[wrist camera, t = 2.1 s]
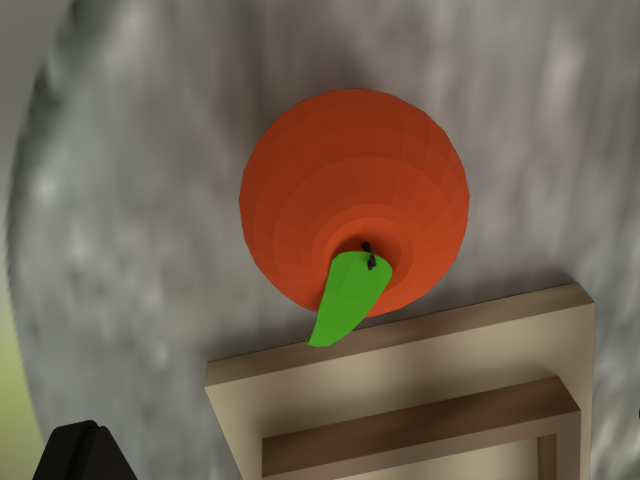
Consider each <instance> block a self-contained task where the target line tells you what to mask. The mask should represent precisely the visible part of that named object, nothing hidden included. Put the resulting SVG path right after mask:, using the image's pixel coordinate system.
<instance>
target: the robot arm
mask: <svg viewBox="0 0 640 480" xmlns="http://www.w3.org/2000/svg"><path fill="white" fill-rule="evenodd" d="M639 418H640V410H639ZM32 480H138V479H137V478H136V476H135V474H134V472H133V471H132V469H131V467H130V466H129V464H128V462H127V460H126V459H125V457H124V455H123V454H122V452H121V450H120V448H119V447H118V445H117V443H116V442H115V440H114V438H113V436H112V435H111V433H110V431H109V430H108V428H107V427H105V426H100V427H99V426H98V425H97V424H96V422H94V421H93V420H87V421H83V422H78V423H74V424H69V425H65V426H60V427H57V428H56V429H54V430H53V432H52V434H51V435H50V438H49V440H48V443H47V445H46V447H45V450H44V452H43V455H42V457H41V460H40V462H39V464H38V467H37V469H36V472H35V474H34V477H33V479H32Z"/></svg>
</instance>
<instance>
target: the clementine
mask: <svg viewBox="0 0 640 480" xmlns="http://www.w3.org/2000/svg"><path fill="white" fill-rule="evenodd" d="M469 197H470V195H469V191H468V186H467V181H466V176H465V171H464V168H463V165H462V163H461V161H460V158H459V156H458V154H457V153H456V151H455V149H454V147H453V145H452V143H451V142H450V140H449V138H448V136H447V134H446V132H445V131H444V130H443V129H442V128H441V127H439V126H438V125H437V124H436V123H435V122H434V121H433V120H432V119H431V118H430V117H429V116H428V115H427V114H426V113H425V112H424V111H422V110H420V109H418V108H416V107H414V106H412V105H410V104H408V103H406V102H404V101H403V100H401V99H399V98H397V97H395V96H393V95H391V94H387V93H382V92H377V91H372V90H367V89H362V88H359V89H344V90H331V91H328V92H325V93H322V94H320V95H317V96H314V97H311V98H308V99H305V100H303V101H301V102H300V103H298V104H297V105H295V106H294V107H292V108H291V109H289V110H288V111H286V112H285V113H283V114H282V115H280V116H279V117H278V118H277V119H276V120H275V121H274V123H273V124H272V125H271V126H270V127H269V128H268V130H267V131H266V132H265V133H264V134H263V135H262V136H261V138H260V139H259V141H258V143H257V145H256V147H255V149H254V151H253V153H252V155H251V157H250V159H249V161H248V163H247V166H246V168H245V170H244V172H243V177H242V184H241V190H240V196H239V205H240V213H241V221H242V228H243V233H244V238H245V241H246V244H247V246H248V248H249V250H250V253H251V255H252V257H253V260H254V262H255V264H256V265H257V266H258V268H259V269H260V270H261V271H262V272H263V273H264V275H265V276H266V277H267V278H268V279H269V281H270V282H271V283H272V284H273V285H274V286H275V287H276V288H277V289H278V290H279V291H280V292H281V293H282V294H284V295H285V296H287V297H288V298H290V299H291V300H292V301H294V302H295V303H297V304H298V305H300V306H301V307H304V308H307V309H309V310H312V311H314V312H317V313H318V315H317V320H316V324H315V326H314V329H313V332H312V335H311V337H310V340H309V339H308V338H307V337H305V340H306V345H310V346H314V347H324V346H330V345H331V344H333V343H335V342H337V341H338V340H340V339H341V338H343V337H344V336H345V335H347V334H348V333H350V332H351V331H352V330H353V329H354V328H355V327H356V326H357V325H358V324H359V323H360V322H361V321H362V320H363V319H364V318H365V317H373V316H378V315H381V314H384V313H387V312H391V311H394V310H397V309H400V308H402V307H404V306H405V305H407V304H409V303H411V302H413V301H414V300H416V299H418V298H420V297H422V296H423V295H424V294H425V293H426V292H427V291H429V290H430V289H431V288H432V287H433V286H434V285H435V284H436V283H438V282H439V281H440V280H441V279H442V277H443V276H444V275H445V273H446V272H447V270H448V269H449V267H450V266H451V265H452V263H453V262H454V260H455V259H456V256H457V254H458V251H459V248H460V246H461V243H462V240H463V238H464V235H465V231H466V226H467V220H468V208H469Z"/></svg>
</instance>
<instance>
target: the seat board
mask: <svg viewBox="0 0 640 480" xmlns="http://www.w3.org/2000/svg"><path fill="white" fill-rule="evenodd" d="M595 310H596V302H595V301H594V300H593V299H592V298H591V297H590V296H589V294H588V293H587V292H586V291H585V290H584V289H583V288H582V287H581V285H580V284H579V283H578V282H576V283H571V284H567V285H562V286H558V287H553V288H548V289H544V290H539V291H535V292H530V293H525V294H521V295H516V296H512V297H507V298H502V299H498V300H493V301H489V302H484V303H479V304H475V305H470V306H466V307H461V308H456V309H452V310H447V311H443V312H438V313H433V314H429V315H424V316H420V317H415V318H411V319H406V320H401V321H397V322H392V323H388V324H383V325H378V326H374V327H369V328H365V329H360V330H355V331H351V332H350V333H348V334H347V335H345V336H344V337H343V338H341V339H340V340H338V341H337V342H335V343H333V344H331V345H330V346H324V347H314V346H310V345H306V341H305V342H300V343H296V344H291V345H286V346H282V347H277V348H273V349H268V350H264V351H259V352H254V353H250V354H245V355H241V356H236V357H231V358H227V359H222V360H218V361H213V362H208V365H207V372H206V379H205V385H204V388H205V390H206V393H207V395H208V397H209V400H210V402H211V405H212V407H213V409H214V412H215V414H216V417H217V419H218V421H219V424H220V426H221V428H222V431H223V433H224V436H225V438H226V440H227V443H228V445H229V447H230V450H231V452H232V455H233V457H234V459H235V462H236V464H237V466H238V469H239V471H240V474H241V476H242V478H243V480H589V479H590V451H591V423H592V394H593V366H594V338H595Z"/></svg>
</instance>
